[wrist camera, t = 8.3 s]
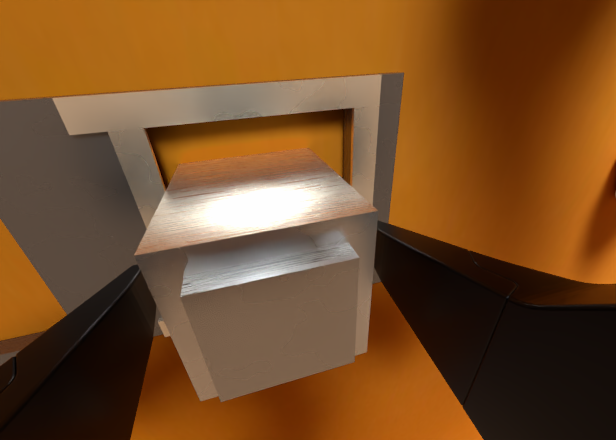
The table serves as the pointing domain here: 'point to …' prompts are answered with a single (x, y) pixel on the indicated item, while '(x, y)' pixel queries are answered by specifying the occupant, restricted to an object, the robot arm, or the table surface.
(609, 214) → the table surface
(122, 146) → the rail
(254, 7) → the table surface
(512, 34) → the table surface
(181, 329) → the grey upright rectangular block
